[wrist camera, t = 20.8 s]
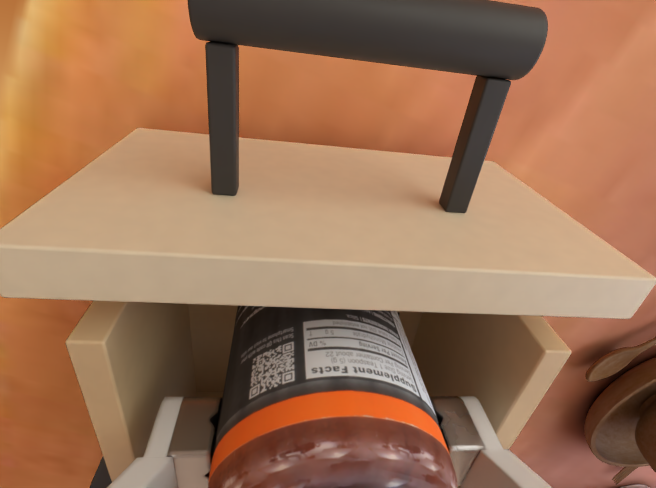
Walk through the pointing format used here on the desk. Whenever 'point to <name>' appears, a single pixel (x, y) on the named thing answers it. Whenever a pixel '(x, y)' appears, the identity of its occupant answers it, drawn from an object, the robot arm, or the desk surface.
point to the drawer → (318, 228)
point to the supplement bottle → (325, 405)
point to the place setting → (624, 412)
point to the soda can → (636, 486)
